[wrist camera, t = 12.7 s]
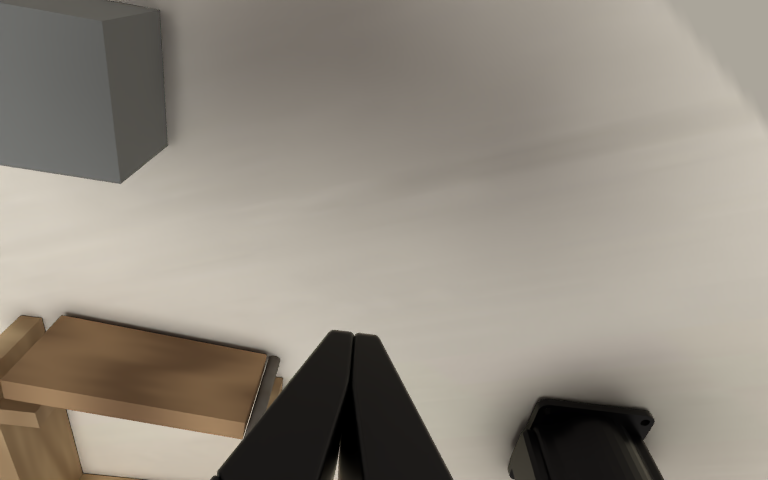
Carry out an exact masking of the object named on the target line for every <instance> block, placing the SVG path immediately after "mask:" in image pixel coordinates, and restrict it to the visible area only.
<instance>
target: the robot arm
mask: <svg viewBox="0 0 768 480" xmlns="http://www.w3.org/2000/svg"><path fill="white" fill-rule="evenodd" d="M654 422H655V421H654V418H653V416H652V415H651V413H650V412H649V411H646V410H637V409H628V408H620V407H611V406H603V405H594V404H586V403H577V402H569V401H560V400H552V399H543V400H540V401H539V402H538V403H537V404H536V406H535V408H534V410H533V413H532V415H531V417H530V419H529V422H528V424H527V426H526V429H525V430H524V431H523V432H522V433H521V435H520V438H519V440H518V442H517V444H516V447H515V449H514V451H513V453H512V456H511V458H510V465H509V467H508V472H509V476H510V478H512V479H515V480H664V479H663V477H662V475H661V473H660V471H659V469H658V467H657V465H656V464H655V462H654V460H653V458H652V456H651V454H650V452H649V450H648V449H647V447H646V445H645V443H644V441H643V440H644V438H645V437H646V435H647V434H648V432H649V431H650V429H651V427H652V426H653V424H654ZM339 448H340V451H339ZM338 454H339V467H338V480H453V478H452V476H451V474H450V472H449V470H448V468H447V466H446V465H445V463H444V461H443V459H442V457H441V455H440V453H439V451H438V449H437V447H436V445H435V444H434V442H433V440H432V438H431V436H430V434H429V432H428V430H427V428H426V426H425V424H424V423H423V421H422V419H421V417H420V415H419V413H418V411H417V409H416V407H415V405H414V403H413V401H412V400H411V398H410V396H409V394H408V392H407V390H406V388H405V386H404V384H403V382H402V380H401V379H400V377H399V375H398V373H397V371H396V369H395V367H394V365H393V363H392V361H391V359H390V358H389V356H388V354H387V352H386V350H385V348H384V346H383V344H382V342H381V340H380V339H379V337H378V336H377V335H372V334H364V333H356V334H355V336H354V335H353V333H352V332H348V331H339V330H331V331H330V332H329V333H328V334H327V335H326V336H325V338H324V339H323V340H322V341H321V343H320V344H319V345H318V346H317V348H316V349H315V350H314V351H313V353H312V354H311V355H310V356H309V358H308V359H307V360H306V361H305V363H304V364H303V365H302V366H301V368H300V369H299V370H298V371H297V373H296V374H295V375H294V376H293V378H292V379H291V380H290V381H289V383H288V384H287V385H286V386H285V388H284V389H283V390H282V391H281V393H280V394H279V395H278V396H277V398H276V399H275V400H274V401H273V403H272V404H271V405H270V406H269V408H268V409H267V410H266V411H265V413H264V414H263V415H262V416H261V418H260V419H259V420H258V421H257V423H256V424H255V425H254V426H253V428H252V429H251V430H250V431H249V433H248V434H247V435H246V436H245V438H244V439H243V440H242V441H241V443H240V444H239V445H238V446H237V448H236V449H235V450H234V451H233V453H232V454H231V455H230V456H229V458H228V459H227V460H226V461H225V463H224V464H223V465H222V466H221V468H220V469H219V470H218V471H217V476H213V477H212V478H211V480H333V479H334V475H335V470H336V465H337V461H338Z"/></svg>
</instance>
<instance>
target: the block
mask: <svg viewBox="0 0 768 480" xmlns="http://www.w3.org/2000/svg"><path fill="white" fill-rule="evenodd" d="M167 146H168V144H167V127H166V109H165V92H164V75H163V57H162V40H161V23H160V10H157V9H152V8H146V7H141V6H135V5H130V4H124V3H119V2H113V1H108V0H0V165H3V166H9V167H16V168H22V169H29V170H35V171H41V172H48V173H54V174H61V175H67V176H73V177H80V178H86V179H93V180H99V181H106V182H112V183H118V184H121V183H122V182H123V181H125V180H126V179H127V178H128V177H130V176H131V175H132V174H133V173H135V172H136V171H137V170H138V169H139V168H141V167H142V166H143V165H144V164H146V163H147V162H148V161H149V160H151V159H152V158H153V157H154V156H156V155H157V154H158V153H159V152H161V151H162V150H163V149H164V148H165V147H167Z"/></svg>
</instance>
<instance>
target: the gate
mask: <svg viewBox="0 0 768 480" xmlns="http://www.w3.org/2000/svg"><path fill="white" fill-rule="evenodd" d="M266 356H267V355H266V354H260V353H255V352H250V351H245V350H240V349H234V348H229V347H224V346H219V345H214V344H208V343H203V342H198V341H193V340H188V339H183V338H177V337H172V336H167V335H162V334H157V333H151V332H146V331H141V330H136V329H131V328H125V327H120V326H115V325H110V324H105V323H99V322H94V321H89V320H84V319H79V318H73V317H68V316H63V315H61V316H60V317H59V319H58V320H57V321H56V322H55V323H54V324H53V325H52V326H51V327H50V328H49V329H48V330H47V331H46V332H45V333H44V334H43V335H42V337H41V338H40V339H39V340H38V341H37V342H36V343H35V344H34V345H33V346H32V347H31V348H30V349H29V350H28V351H27V352H26V353H25V355H24V356H23V357H22V358H21V359H20V360H19V361H18V362H17V363H16V364H15V365H14V366H13V367H12V368H11V369H10V370H9V371H8V373H7V374H6V375H5V376H4V377H3V378H2V379H1V380H0V381H1V386H2V391H3V396H4V398H5V399H10V400H16V401H22V402H28V403H34V404H40V405H45V406H51V407H57V408H63V409H69V410H74V411H80V412H86V413H92V414H98V415H104V416H109V417H115V418H121V419H127V420H133V421H138V422H144V423H150V424H156V425H162V426H168V427H173V428H179V429H185V430H191V431H197V432H202V433H208V434H214V435H220V436H226V437H232V438H237V439H243V435H244V432H245V429H246V426H247V423H248V420H249V416H250V413H251V410H252V407H253V404H254V400H255V397H256V394H257V391H258V388H259V385H260V381H261V378H262V375H263V372H264V368H265V362H266Z"/></svg>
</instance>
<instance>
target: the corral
mask: <svg viewBox="0 0 768 480" xmlns="http://www.w3.org/2000/svg"><path fill="white" fill-rule="evenodd" d="M44 333H45V329H44V325H43V321H42V318H37V317H29V316H20V317H19V318H18V319H17V320H15V321H14V322H13V323H12V324H11V325H10V326H9V327H8V328H7V329H6V330H5V331H4V332H3V333H2V334H1V335H0V380H1V379H2V378H3V377H4V376H5V375H6V374H7V373H8V371H9V370H10V369H11V368H12V367H13V366H14V365H15V364H16V363H17V362H18V361H19V360H20V359H21V358H22V357H23V356H24V355H25V353H26V352H27V351H28V350H29V349H30V348H31V347H32V346H33V345H34V344H35V343H36V342H37V341H38V340H39V339H40V338H41V337H42V335H43V334H44ZM279 363H280V359H279V358H278V357H276V356H271V357H269V359H268V362H267V365H266V369H265V372H264V375H263V378H262V381H261V385H260V388H259V391H258V394H257V398H256V401H255V404H254V407H253V410H252V414H251V417H250V420H249V423H248V426H247V430H246V433H245V436H246V435H247V434H248V433H249V431H250V430H251V429H252V428H253V426H254V425H255V424H256V423H257V421H258V420H259V419H260V418H261V416H262V415H263V414H264V413H265V411H266V410H267V409H268V408H269V406H270V405H271V404H272V403H273V401H274V400H275V399H276V398H277V396H278V395H279V394H280V393H281V391H282V383H283V378H278V377H276V374H277V370H278V367H279ZM245 436H244V438H245ZM0 480H140V479H130V478H120V477H111V476H101V475H91V474H83V472H82V469H81V465H80V461H79V457H78V453H77V450H76V446H75V442H74V438H73V435H72V431H71V427H70V423H69V419H68V416H67V412H66V409H63V408H57V407H51V406H45V405H40V404H34V403H28V402H22V401H16V400H10V399H5V398H4V396H3V391H2V386H1V381H0Z"/></svg>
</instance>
